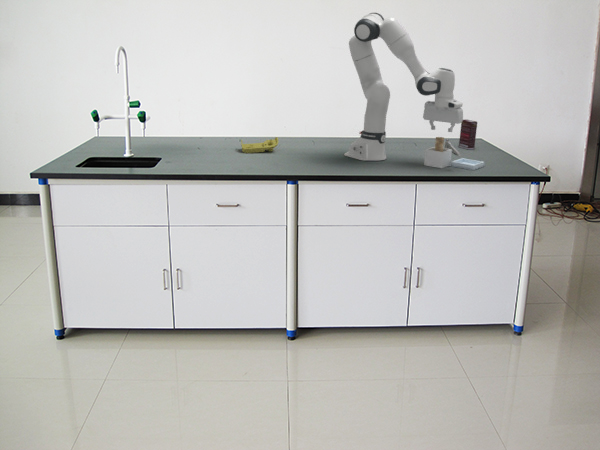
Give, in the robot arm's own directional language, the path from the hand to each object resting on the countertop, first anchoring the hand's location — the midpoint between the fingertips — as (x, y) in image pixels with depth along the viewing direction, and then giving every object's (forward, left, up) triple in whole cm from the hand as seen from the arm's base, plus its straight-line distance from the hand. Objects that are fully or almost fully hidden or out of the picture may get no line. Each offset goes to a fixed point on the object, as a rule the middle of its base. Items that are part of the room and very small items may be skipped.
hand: (441, 130), depth 300 cm
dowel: (0, 0, -18) cm, 18 cm away
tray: (+12, +9, -18) cm, 23 cm away
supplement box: (-10, +52, -18) cm, 56 cm away
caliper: (-10, +35, -18) cm, 41 cm away
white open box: (0, 0, -18) cm, 18 cm away
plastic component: (-84, -43, -18) cm, 96 cm away
